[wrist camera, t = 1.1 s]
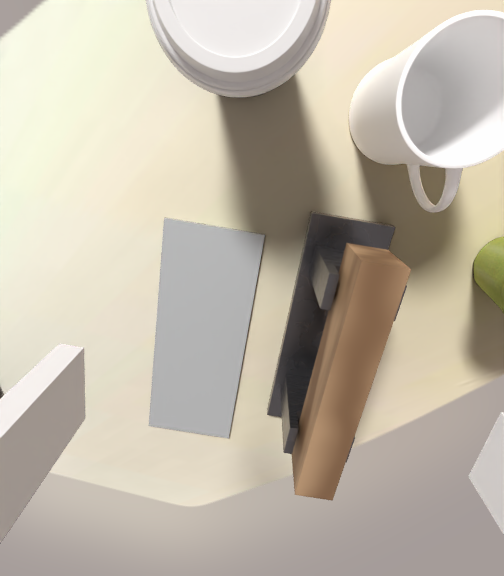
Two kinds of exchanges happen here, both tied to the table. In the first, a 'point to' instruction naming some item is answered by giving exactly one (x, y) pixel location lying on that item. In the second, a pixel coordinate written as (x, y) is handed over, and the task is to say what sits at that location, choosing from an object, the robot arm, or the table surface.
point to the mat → (202, 324)
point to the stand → (315, 309)
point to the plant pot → (491, 270)
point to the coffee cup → (238, 40)
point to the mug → (436, 103)
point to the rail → (346, 365)
